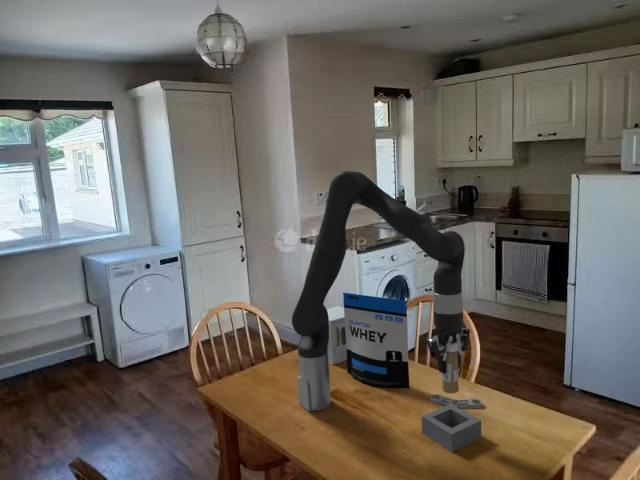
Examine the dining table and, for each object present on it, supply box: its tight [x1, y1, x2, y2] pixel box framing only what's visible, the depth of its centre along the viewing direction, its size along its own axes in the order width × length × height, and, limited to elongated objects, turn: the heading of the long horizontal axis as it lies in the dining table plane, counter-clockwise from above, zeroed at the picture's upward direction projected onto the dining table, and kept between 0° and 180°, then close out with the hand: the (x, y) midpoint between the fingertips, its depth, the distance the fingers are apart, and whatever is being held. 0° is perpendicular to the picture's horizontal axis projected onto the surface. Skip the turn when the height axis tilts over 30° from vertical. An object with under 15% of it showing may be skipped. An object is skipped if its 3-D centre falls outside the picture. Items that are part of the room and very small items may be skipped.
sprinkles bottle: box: [441, 343, 460, 394], centre depth 129 cm, size 5×5×13 cm
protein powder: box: [342, 292, 410, 390], centre depth 164 cm, size 10×24×30 cm, turn 54°
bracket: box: [429, 393, 483, 409], centre depth 148 cm, size 8×2×15 cm
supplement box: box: [326, 305, 347, 366], centre depth 189 cm, size 13×13×18 cm
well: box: [421, 404, 482, 453], centre depth 131 cm, size 11×11×5 cm
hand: (449, 369), depth 129 cm, fingers closed on sprinkles bottle, 4 cm apart
